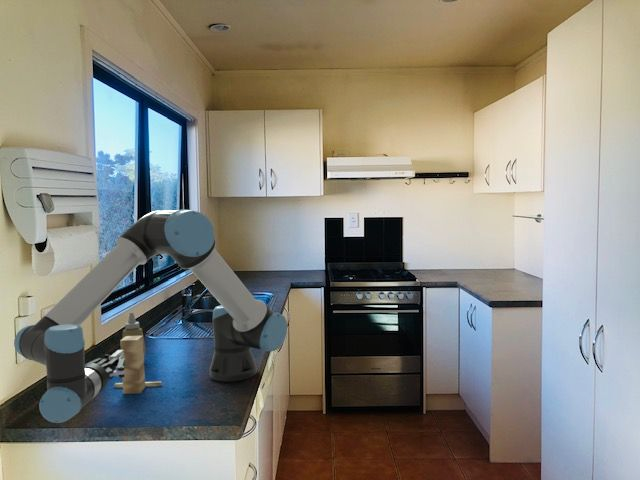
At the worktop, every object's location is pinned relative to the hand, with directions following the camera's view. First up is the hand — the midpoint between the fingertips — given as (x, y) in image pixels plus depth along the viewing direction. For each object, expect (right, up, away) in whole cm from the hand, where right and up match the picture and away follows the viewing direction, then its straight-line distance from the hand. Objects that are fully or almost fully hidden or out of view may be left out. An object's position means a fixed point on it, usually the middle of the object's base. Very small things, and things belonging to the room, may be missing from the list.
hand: (121, 354), depth 146 cm
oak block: (0, -13, +10) cm, 16 cm away
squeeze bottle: (-10, -11, +37) cm, 40 cm away
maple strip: (0, -13, +13) cm, 18 cm away
